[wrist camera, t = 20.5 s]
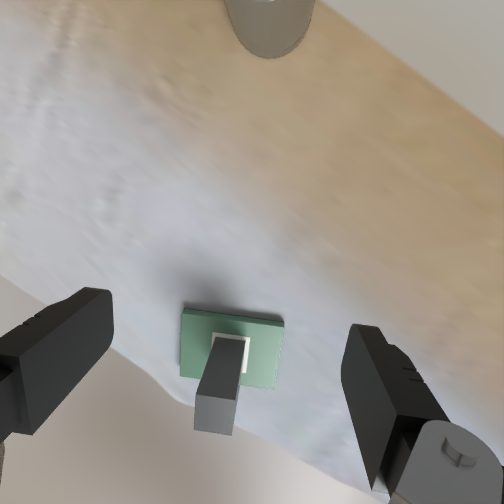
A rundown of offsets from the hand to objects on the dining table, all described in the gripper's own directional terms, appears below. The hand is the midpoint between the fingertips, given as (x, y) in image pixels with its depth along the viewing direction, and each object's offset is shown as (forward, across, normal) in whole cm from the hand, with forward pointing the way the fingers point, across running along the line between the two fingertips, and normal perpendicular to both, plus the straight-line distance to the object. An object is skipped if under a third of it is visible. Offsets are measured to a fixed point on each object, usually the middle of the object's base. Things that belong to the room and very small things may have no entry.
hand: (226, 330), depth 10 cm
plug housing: (+32, +3, +25) cm, 40 cm away
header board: (+33, +3, +25) cm, 42 cm away
